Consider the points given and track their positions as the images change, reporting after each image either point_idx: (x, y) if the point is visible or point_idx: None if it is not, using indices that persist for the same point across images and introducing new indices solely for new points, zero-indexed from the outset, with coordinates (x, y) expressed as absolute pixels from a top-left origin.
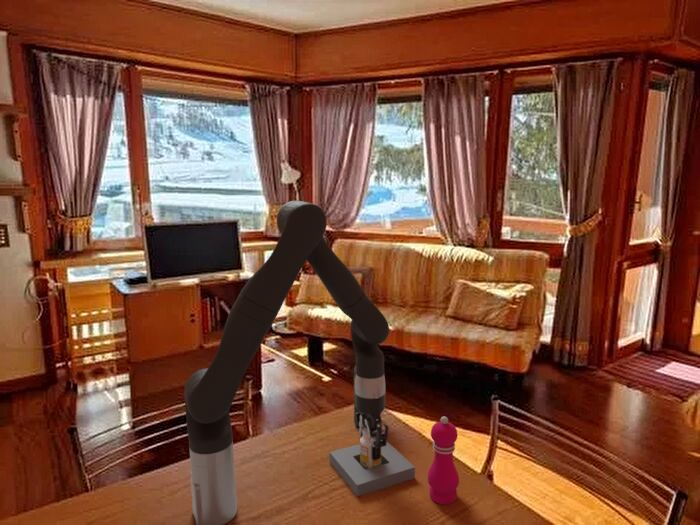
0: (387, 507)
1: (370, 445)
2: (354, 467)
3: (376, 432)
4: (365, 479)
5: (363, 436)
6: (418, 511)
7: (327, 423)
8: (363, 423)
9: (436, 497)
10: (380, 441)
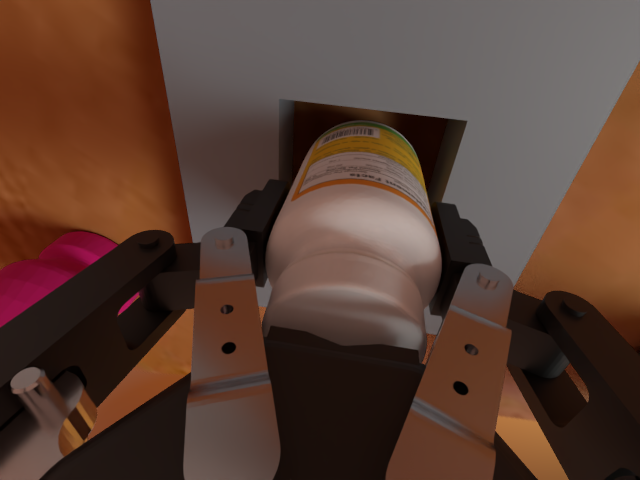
0: (64, 54)
1: (274, 228)
2: (344, 50)
3: (30, 359)
4: (185, 37)
5: (359, 251)
6: (28, 153)
7: None
8: (418, 384)
9: (53, 243)
10: (171, 299)
